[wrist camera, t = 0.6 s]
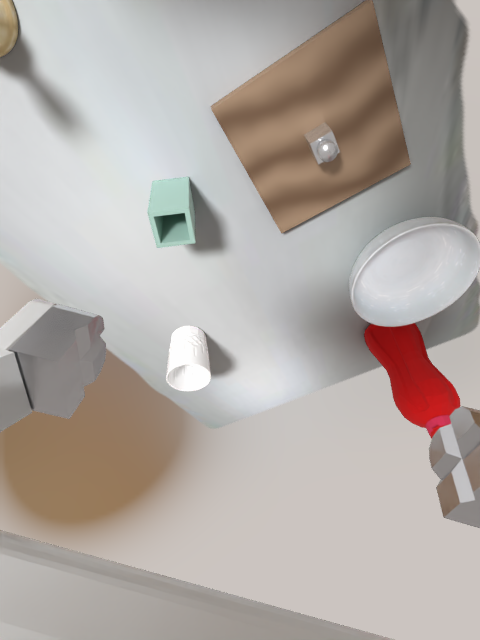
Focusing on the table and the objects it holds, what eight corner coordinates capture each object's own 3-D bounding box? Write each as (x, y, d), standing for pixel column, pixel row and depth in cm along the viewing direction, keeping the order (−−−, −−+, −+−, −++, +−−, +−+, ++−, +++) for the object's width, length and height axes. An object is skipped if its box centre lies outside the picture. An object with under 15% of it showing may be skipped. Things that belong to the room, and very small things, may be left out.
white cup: (195, 355, 77) (196, 395, 70) (161, 342, 74) (158, 383, 67) (216, 332, 73) (219, 372, 66) (180, 317, 70) (179, 358, 62)
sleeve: (152, 181, 52) (147, 212, 45) (188, 176, 52) (188, 207, 45) (160, 214, 55) (157, 247, 49) (194, 210, 55) (195, 243, 49)
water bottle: (386, 350, 83) (441, 459, 65) (355, 331, 77) (406, 444, 59) (422, 325, 78) (493, 435, 60) (392, 303, 73) (460, 416, 55)
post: (304, 134, 48) (313, 148, 44) (325, 122, 47) (336, 135, 44) (312, 154, 50) (321, 169, 46) (332, 142, 49) (343, 157, 45)
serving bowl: (336, 310, 73) (346, 336, 68) (343, 212, 58) (357, 236, 53) (442, 293, 72) (461, 317, 67) (477, 190, 58) (504, 212, 53)
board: (210, 106, 46) (211, 109, 45) (367, -1, 40) (372, 0, 39) (279, 228, 59) (281, 233, 58) (406, 160, 53) (410, 164, 52)
